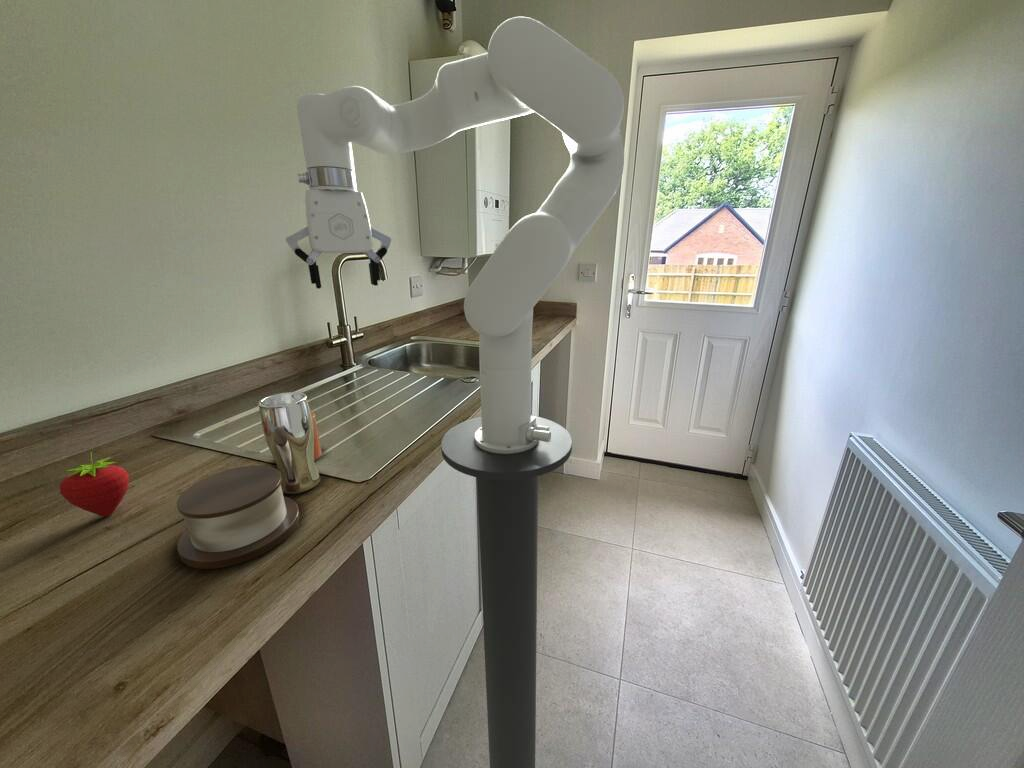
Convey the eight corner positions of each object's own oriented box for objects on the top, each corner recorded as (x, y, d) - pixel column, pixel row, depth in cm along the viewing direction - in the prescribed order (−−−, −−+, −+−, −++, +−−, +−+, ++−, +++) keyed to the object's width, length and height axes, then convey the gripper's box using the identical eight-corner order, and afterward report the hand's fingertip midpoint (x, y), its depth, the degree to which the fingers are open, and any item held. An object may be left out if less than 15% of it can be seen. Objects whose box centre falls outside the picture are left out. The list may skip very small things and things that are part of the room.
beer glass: (295, 471, 71) (278, 390, 66) (331, 474, 70) (317, 392, 65) (266, 494, 65) (245, 406, 60) (305, 497, 64) (287, 408, 59)
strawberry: (92, 506, 62) (69, 447, 59) (149, 500, 64) (129, 442, 60) (60, 531, 57) (33, 468, 53) (124, 524, 58) (100, 461, 55)
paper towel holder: (321, 515, 59) (313, 473, 57) (222, 584, 47) (207, 534, 45) (258, 492, 65) (249, 453, 63) (156, 549, 53) (139, 503, 51)
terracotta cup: (330, 452, 78) (323, 413, 75) (297, 470, 72) (288, 428, 69) (304, 445, 81) (296, 407, 78) (270, 461, 75) (260, 421, 72)
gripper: (274, 176, 62) (295, 291, 68) (389, 183, 70) (399, 285, 75) (275, 183, 69) (294, 287, 74) (380, 188, 76) (390, 282, 82)
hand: (347, 286), depth 75 cm, fingers open, 9 cm apart
